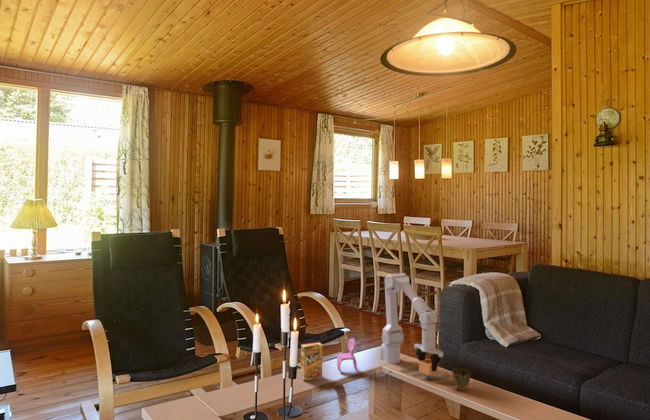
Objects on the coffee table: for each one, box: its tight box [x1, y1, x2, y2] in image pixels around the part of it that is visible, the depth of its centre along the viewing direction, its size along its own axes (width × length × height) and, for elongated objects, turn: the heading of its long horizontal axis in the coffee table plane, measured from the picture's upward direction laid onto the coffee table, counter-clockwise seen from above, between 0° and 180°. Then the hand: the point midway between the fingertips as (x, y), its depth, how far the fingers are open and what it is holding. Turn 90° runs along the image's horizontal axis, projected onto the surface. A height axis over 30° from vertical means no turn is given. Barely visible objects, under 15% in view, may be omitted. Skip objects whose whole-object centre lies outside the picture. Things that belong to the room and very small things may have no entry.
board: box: [397, 363, 453, 385], centre depth 210 cm, size 20×14×1 cm
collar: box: [418, 358, 439, 375], centre depth 205 cm, size 6×6×4 cm
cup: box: [451, 367, 472, 392], centre depth 195 cm, size 8×7×8 cm
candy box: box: [300, 341, 323, 381], centre depth 206 cm, size 9×4×15 cm, turn 113°
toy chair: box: [336, 337, 359, 374], centre depth 215 cm, size 8×9×15 cm
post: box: [424, 374, 432, 379], centre depth 205 cm, size 3×3×6 cm
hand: (428, 368), depth 205 cm, fingers closed on collar, 6 cm apart
